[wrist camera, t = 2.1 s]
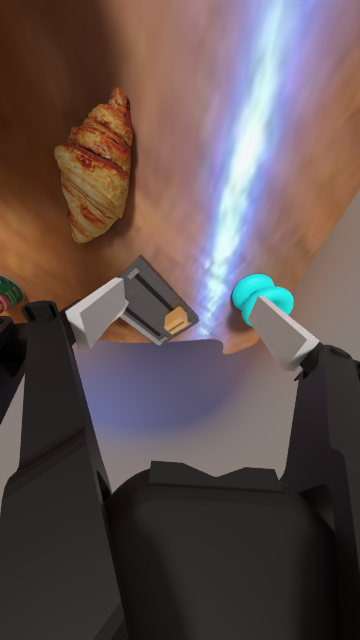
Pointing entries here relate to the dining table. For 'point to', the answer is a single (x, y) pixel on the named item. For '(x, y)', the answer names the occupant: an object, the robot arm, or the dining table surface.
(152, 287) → the console
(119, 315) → the cream fader
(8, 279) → the canned tomato
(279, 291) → the donuts
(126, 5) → the dining table surface
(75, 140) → the croissant
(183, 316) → the orange fader
